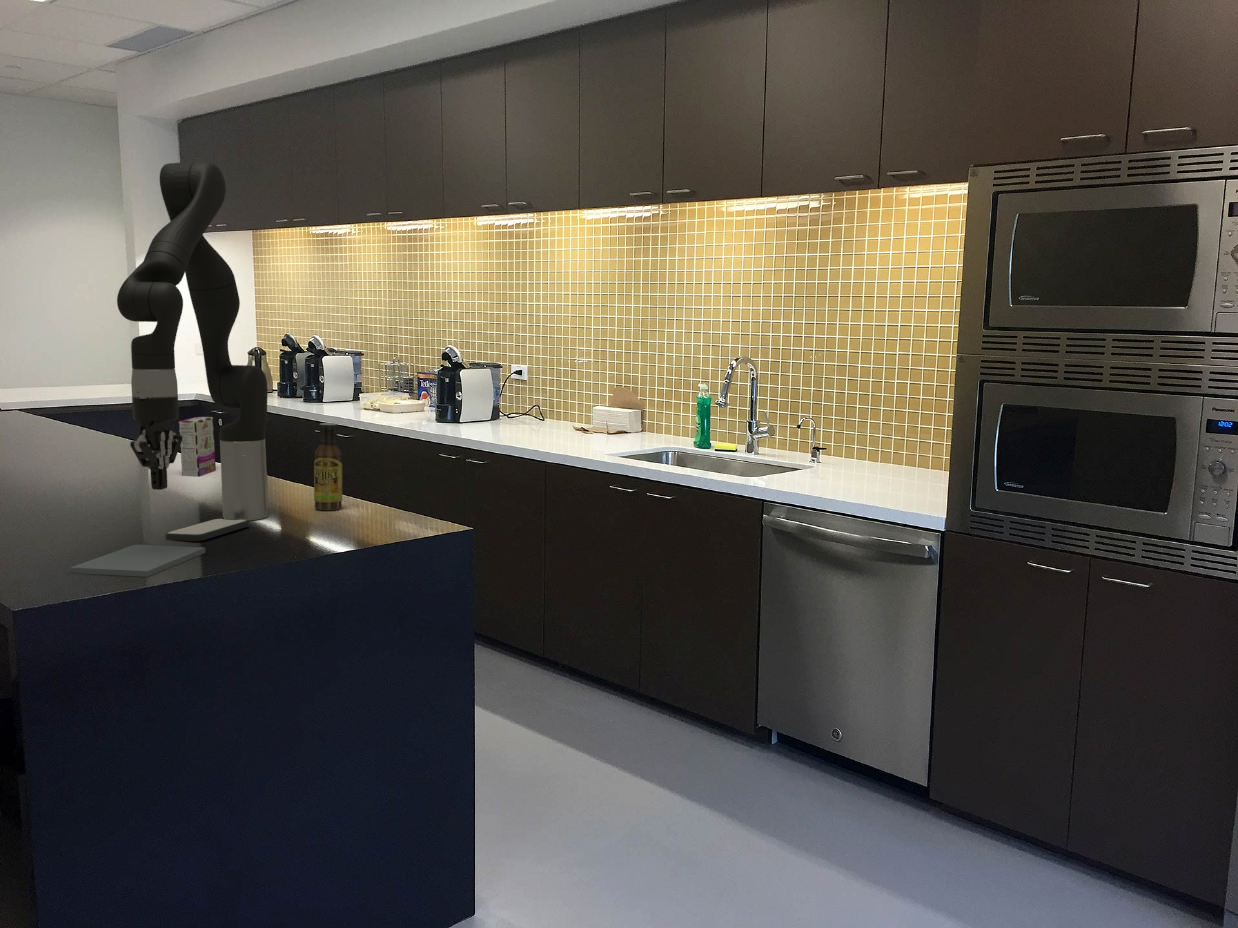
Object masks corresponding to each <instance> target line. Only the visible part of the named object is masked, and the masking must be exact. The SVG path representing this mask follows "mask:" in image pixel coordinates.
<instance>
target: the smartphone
mask: <svg viewBox="0 0 1238 928" xmlns="http://www.w3.org/2000/svg"><path fill="white" fill-rule="evenodd" d="M249 526H250V520H240V519H223V518H215V519H211V520H208V521H207V520H206V521H203V522H200V523H196V524H193V525H189V526H187V527H182V528H178V529H176V530H172V531H168V532H166V533H165V540H167V541H178V542H179V541H180V542H181V541H183V542H184V541H185V542H202V541H206V540H208V539H213V538H215V537H219V536H221V535H225V534H229V533H232V532H235V531H239V530H241V529H245V528H247V527H248V528H249Z"/></svg>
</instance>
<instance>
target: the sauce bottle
mask: <svg viewBox="0 0 1238 928" xmlns="http://www.w3.org/2000/svg"><path fill="white" fill-rule="evenodd" d="M338 425H339V424H338V423H336V422H323V423H322V422H321V423H319V425H318V428H319V429H318V430H319V445H318V446H317V448H316V450H315V451H314V463H313V471H314V472H313V473H314V474H313V475H314V476H313V478H314V481H313V486H314V487H313V491H314V493H313V500H314V508H315V509H316V510H317V511H318V510H320V511H338V510H341V509H342V506H343V505H342V501H343V462H342V461H343V458H342V457H343V453H342V451H341V449H340V447H339V445H338V438H337V437H338V429H339V428H338Z"/></svg>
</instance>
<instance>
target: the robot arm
mask: <svg viewBox="0 0 1238 928" xmlns="http://www.w3.org/2000/svg"><path fill="white" fill-rule="evenodd" d="M221 170H222V169H220V168H219V166H218V165H216V164H215V163H212V162H209V161H193V162H192V161H191V162H187V161H186V162H171V163H170V162H169V163H166V164H164V165H163V166H162V167H161V169H160V171H159V187H160V192H161V196H162V200H163V202H164V207H165V209H166V212H167V216H168V217H169V218H168V219H169V222H168V223H167V224H166V225H164V226H163V227H162V228H161V229H159V231H158V232H157V233H156V234H155V235H154V237H153V238H152V240H151V242H150V244H149V247H148V249H147V252H146V253H145V256H144V259H143V261H142V262H141V263H140V264H139V265H138V266H137V267H136V268H135V269H134V270H133V271H132V272H131V273H130V275H128V277H126V279H125V280H124V282H123V283H122V284H121V286H120V288H119V290H118V291H117V297H116V304H117V309H118V312H119V313H120V314H121V316H122V317H124V319H126V320H127V321H130V322H135V323H136V322H138V323H140V322H142V323H144V322H147V323H148V322H149V323H150V322H151V323H156V325H155V328H154V329H153V331H152V332H150V333H149V334H143V335H139V336H135V337H134V338H132V340H131V343H130V351H131V352H130V353H131V370H132V371H131V380H130V381H131V382H130V383H131V385H130V386H131V403H132V419H133V420H134V421H136V422H138V423H139V427H138V433H137V434H138V437H137V439H136V441H135V440H133V441H130V444H129V445H130V448H131V450H132V451H133V453H134V455H135V456H136V458H137V460H138V462H139V463H140V466H141V467H142V468H143V467H144V468H147V469H149V470H150V485H151V489H152V490H158V491H159V490H160V491H161V490H165V489H167V488H168V468H169V466H170V464H174V463H175V461H176V458H177V456H178V452H179V450H180V449H181V447H180V445H181V442H182V439H183V437H182V435H180V434H177V433H176V432H175V426H174V423H173V421H178V419H179V417H180V415H179V414H180V413H179V396H178V395H179V393H178V392H179V390H178V379H177V378H178V377H177V374H176V361H175V359H176V358H175V344H176V338H177V334H178V329H179V326H180V322H181V319H182V318H181V317H182V315H183V309H184V298H183V294H182V292H181V290H180V289H179V288H178V285H179V284H180V283H181V282H182V280H183V279H184V275H185V279H186V283H187V284H186V285H187V289H188V292H189V297H190V301H191V304H192V309H193V312H194V314H195V315H194V316H195V319H196V324H197V327H198V331H199V337H200V343H201V348H202V353H203V360H204V368H205V376H206V382H207V388H208V391H209V394H210V397H211V399H212V401H213V402H214V404H216V405H217V406H218V407H220V408H228V409H233V408H234V409H239V416H238V418H237V419H235V421H232V422H230V423H227V424H224V425H222V426H221V427H220V428H219V446H220V447H219V452H220V453H219V454H220V471H221V472H220V473H221V474H220V475H221V498H222V499H221V500H222V501H221V503H222V519H223V518H224V519H240V520H249V521H256V520H262V519H265V518H268V516H269V512H270V511H269V489H268V473H267V472H268V471H267V452H266V451H267V450H266V429H267V424H268V382H267V377H266V373H265V372H264V371H263V369H262V368H261V367H260V366H257V365H246V364H245V365H243V364H241V365H240V364H232V361H231V358H230V353H229V340H230V339H229V338H230V334H231V331H232V329H233V327H234V325H235V323H236V319H237V318H238V315H239V312H240V311H239V310H240V305H241V303H240V302H241V301H240V295H239V290H238V285H237V282H236V278H235V274H234V272H233V270H232V268H231V267H230V265H229V264H228V262H227V261H226V260H225V259H224V258H223V256H221V255H220V253H219V252H218V251H217V250H216V249H215V248H214V247H213V246H212V244H210V242H209V241H208V240H207V239H206V237H205V236H204V234H205V233H206V231H207V229H208V228H209V226H210V225H211V223H212V221H213V220H214V218H215V217H216V216H217V214H218V212H219V211H220V209H221V208H222V206H223V204H224V202H225V198H226V193H227V192H226V191H227V187H226V179H225V178H224V174H223V172H222V171H221Z"/></svg>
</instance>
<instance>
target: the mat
mask: <svg viewBox="0 0 1238 928" xmlns="http://www.w3.org/2000/svg"><path fill="white" fill-rule="evenodd" d="M203 554H206V547H201V546H199V547H197V546H196V547H195V546H180V545H179V546H178V545H175V546H174V545H158V544H157V545H153V544H133V545H130V546H127V547H124V548H122V549H118V550H116V551H113V552H110V553H107V554H105V555H101V556H99V557H96V558H93V559H90V560H87V561H84V562H81V563H79V564H76V565H73V566H70V570H69V571H70V573H71V574H80V575H99V576H104V575H105V576H116V577H117V576H119V577H121V576H122V577H140V578H142V577H143V578H148V577H150V576H154V575H155V574H156V575H157V573H160V572H163V571H165V570H167V569H170V568H173V567H175V566H177V565H180V564H182V563H185V562H187V561H189V560H192V559H194V558H196V557H199V556H201V555H202V556H203Z"/></svg>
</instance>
